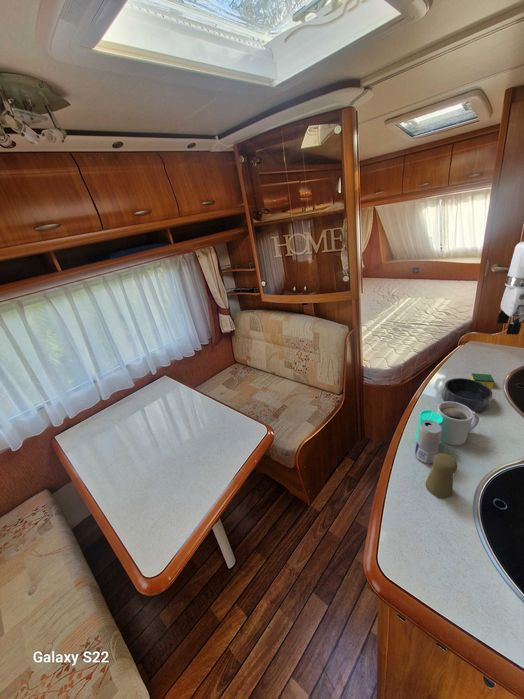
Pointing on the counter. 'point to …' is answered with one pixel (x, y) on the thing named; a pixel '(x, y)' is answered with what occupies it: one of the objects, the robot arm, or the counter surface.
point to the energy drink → (428, 441)
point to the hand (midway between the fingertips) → (506, 328)
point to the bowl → (468, 394)
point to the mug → (456, 422)
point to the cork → (441, 476)
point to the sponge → (483, 379)
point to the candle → (428, 416)
